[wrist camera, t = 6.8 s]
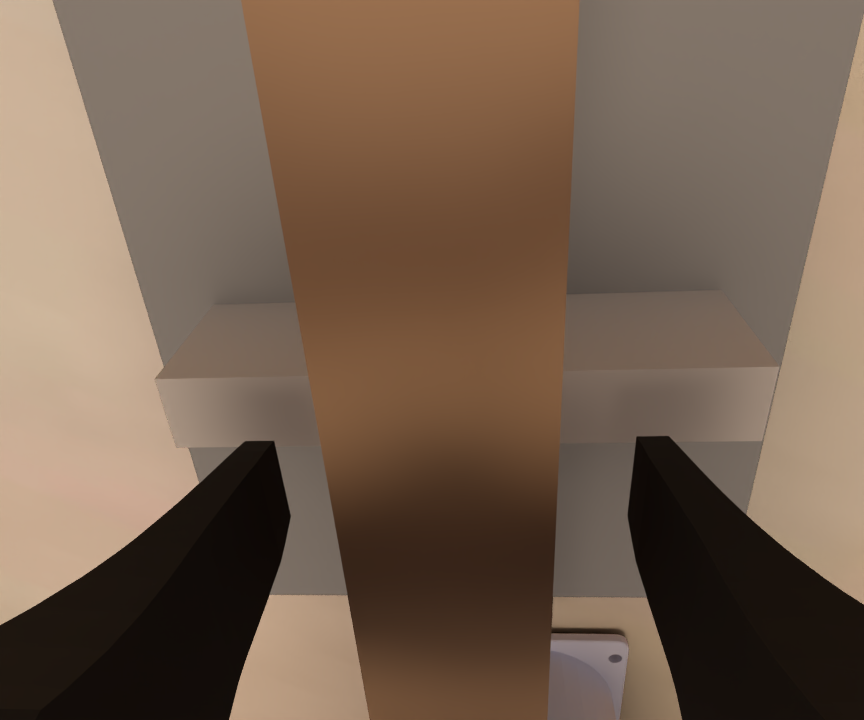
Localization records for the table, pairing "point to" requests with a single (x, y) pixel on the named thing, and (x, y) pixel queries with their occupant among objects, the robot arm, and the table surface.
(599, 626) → the table surface
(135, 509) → the table surface
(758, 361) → the fulcrum stand
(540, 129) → the walnut beam
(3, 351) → the table surface
